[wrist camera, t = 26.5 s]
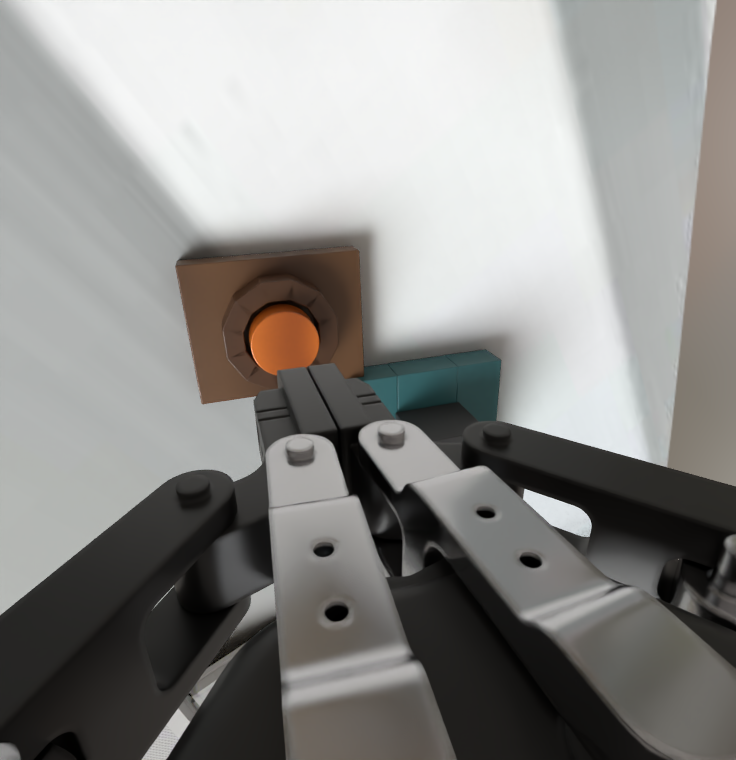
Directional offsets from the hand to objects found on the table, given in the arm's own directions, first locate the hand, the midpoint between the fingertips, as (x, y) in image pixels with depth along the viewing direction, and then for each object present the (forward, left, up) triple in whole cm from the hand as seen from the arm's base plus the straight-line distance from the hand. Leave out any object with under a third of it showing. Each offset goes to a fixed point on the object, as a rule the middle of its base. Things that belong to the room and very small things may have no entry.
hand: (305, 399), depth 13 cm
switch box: (+1, -4, -21) cm, 21 cm away
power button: (+1, -4, -18) cm, 18 cm away
